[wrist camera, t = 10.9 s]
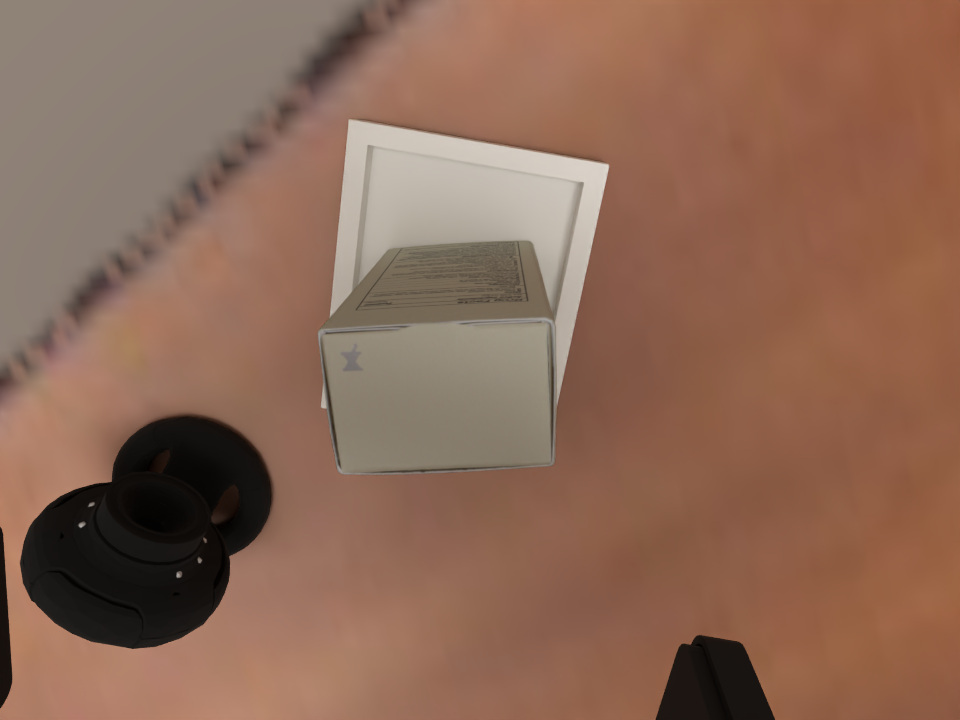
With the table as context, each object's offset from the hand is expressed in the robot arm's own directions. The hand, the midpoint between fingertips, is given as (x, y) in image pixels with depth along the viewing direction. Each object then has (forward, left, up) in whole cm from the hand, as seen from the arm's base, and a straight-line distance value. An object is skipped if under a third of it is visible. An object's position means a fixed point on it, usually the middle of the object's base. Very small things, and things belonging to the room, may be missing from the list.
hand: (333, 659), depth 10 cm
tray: (0, 0, -22) cm, 22 cm away
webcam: (+11, +12, -22) cm, 28 cm away
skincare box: (0, 0, -22) cm, 22 cm away
